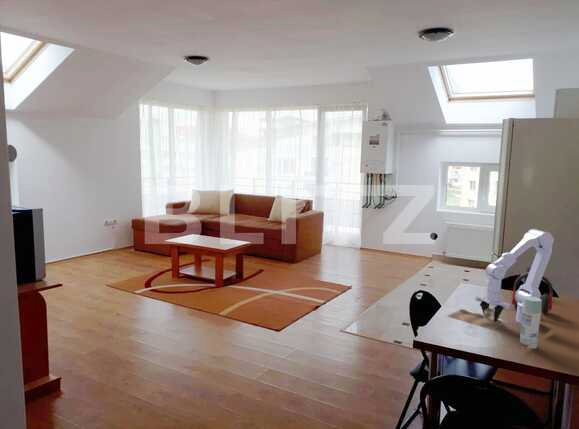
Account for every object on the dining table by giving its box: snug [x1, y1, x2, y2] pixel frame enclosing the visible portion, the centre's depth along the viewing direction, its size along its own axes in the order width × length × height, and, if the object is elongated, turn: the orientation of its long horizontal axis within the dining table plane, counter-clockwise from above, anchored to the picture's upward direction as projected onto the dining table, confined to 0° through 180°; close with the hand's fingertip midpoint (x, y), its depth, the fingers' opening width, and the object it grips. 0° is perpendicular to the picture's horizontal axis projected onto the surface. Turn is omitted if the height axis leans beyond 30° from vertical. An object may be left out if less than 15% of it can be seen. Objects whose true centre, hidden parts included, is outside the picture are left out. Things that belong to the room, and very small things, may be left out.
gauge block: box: [483, 306, 498, 325], centre depth 204 cm, size 4×9×6 cm, turn 133°
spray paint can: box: [519, 296, 542, 350], centre depth 182 cm, size 6×6×20 cm
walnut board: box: [446, 308, 509, 331], centre depth 209 cm, size 22×16×3 cm
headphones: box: [511, 272, 554, 315], centre depth 224 cm, size 18×10×20 cm, turn 64°
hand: (490, 319), depth 204 cm, fingers closed on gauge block, 4 cm apart
